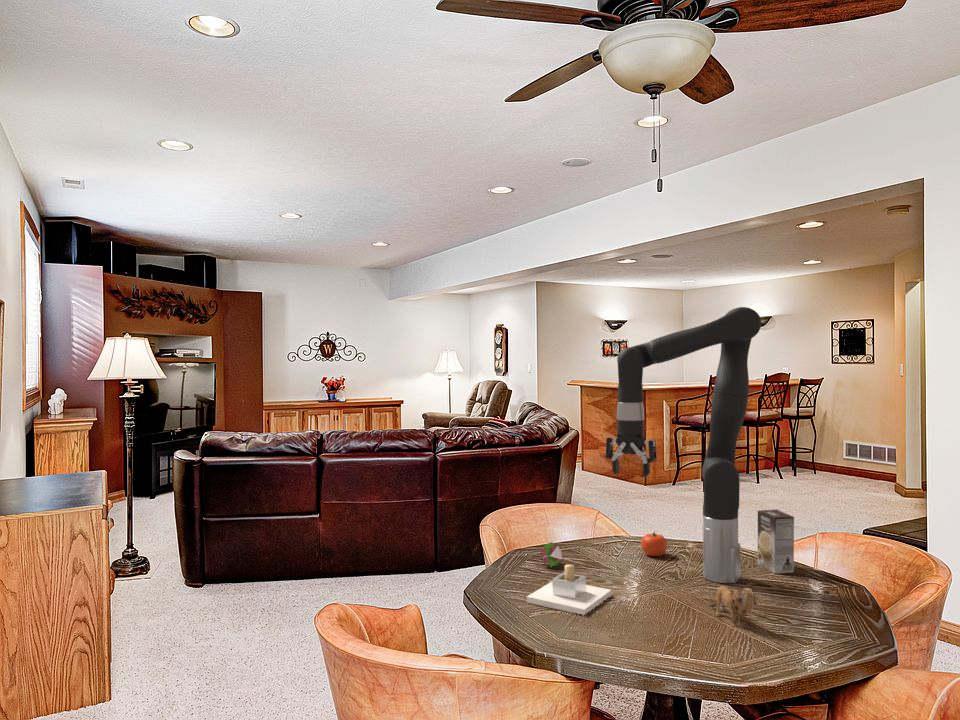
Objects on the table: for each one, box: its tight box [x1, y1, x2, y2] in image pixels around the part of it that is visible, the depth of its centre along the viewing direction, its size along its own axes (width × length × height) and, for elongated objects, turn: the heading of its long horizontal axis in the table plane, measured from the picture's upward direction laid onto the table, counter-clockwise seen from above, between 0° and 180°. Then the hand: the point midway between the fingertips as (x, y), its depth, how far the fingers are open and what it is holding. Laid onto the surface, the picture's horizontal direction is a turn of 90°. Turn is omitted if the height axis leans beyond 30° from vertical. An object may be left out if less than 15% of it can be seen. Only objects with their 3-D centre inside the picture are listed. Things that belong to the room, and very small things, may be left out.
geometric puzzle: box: [538, 541, 564, 568], centre depth 201 cm, size 7×7×8 cm
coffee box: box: [757, 509, 795, 574], centre depth 196 cm, size 9×6×16 cm
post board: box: [526, 563, 612, 616], centre depth 174 cm, size 16×16×8 cm
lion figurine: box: [709, 585, 760, 627], centre depth 159 cm, size 15×5×9 cm, turn 21°
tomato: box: [640, 531, 668, 557], centre depth 210 cm, size 8×8×7 cm
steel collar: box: [551, 571, 587, 599], centre depth 174 cm, size 6×6×4 cm
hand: (630, 475), depth 192 cm, fingers open, 8 cm apart
